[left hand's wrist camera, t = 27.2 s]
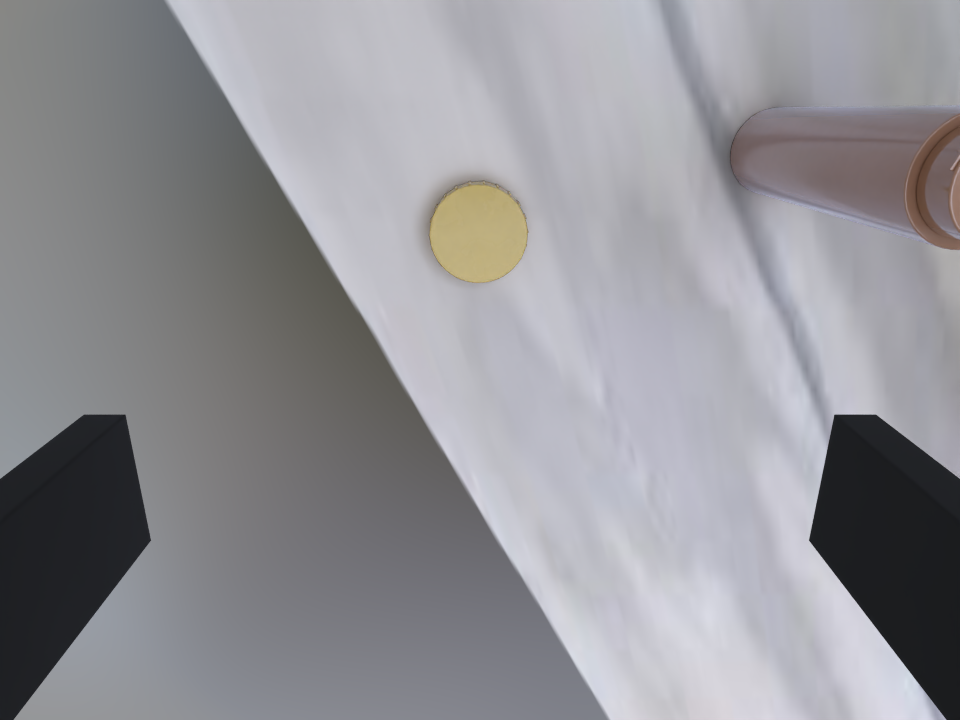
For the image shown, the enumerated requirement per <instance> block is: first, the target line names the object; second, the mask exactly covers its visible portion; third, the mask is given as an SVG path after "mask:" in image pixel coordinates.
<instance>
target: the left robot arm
mask: <svg viewBox="0 0 960 720" xmlns="http://www.w3.org/2000/svg"><path fill="white" fill-rule="evenodd" d="M150 541H151V539H150V534H149V529H148V524H147V519H146V514H145V509H144V504H143V499H142V494H141V489H140V484H139V479H138V475H137V469H136V465H135V460H134V455H133V450H132V445H131V440H130V435H129V430H128V425H127V420H126V415H83V416H82V417H80V418H79V419H78V420H76V421H75V422H74V423H73V424H71V425H70V426H69V427H67V428H66V429H65V430H64V431H62V432H61V433H60V434H58V435H57V436H56V437H54V438H53V439H52V440H50V441H49V442H48V443H46V444H45V445H44V446H43V447H41V448H40V449H39V450H37V451H36V452H35V453H33V454H32V455H31V456H30V457H28V458H27V459H26V460H24V461H23V462H22V463H20V464H19V465H18V466H17V467H15V468H14V469H13V470H11V471H10V472H9V473H7V474H6V475H5V476H3V477H2V478H1V479H0V720H14V718H15V717H16V716H17V714H18V713H19V712H20V710H21V709H22V708H23V706H24V705H25V704H26V703H27V701H28V700H29V699H30V697H31V696H32V695H33V694H34V692H35V691H36V690H37V688H38V687H39V686H40V684H41V683H42V682H43V680H44V679H45V678H46V677H47V675H48V674H49V673H50V671H51V670H52V669H53V667H54V666H55V665H56V663H57V662H58V661H59V660H60V658H61V657H62V656H63V654H64V653H65V652H66V650H67V649H68V648H69V647H70V645H71V644H72V643H73V641H74V640H75V639H76V637H77V636H78V635H79V634H80V632H81V631H82V630H83V628H84V627H85V626H86V624H87V623H88V622H89V620H90V619H91V618H92V617H93V615H94V614H95V613H96V611H97V610H98V609H99V607H100V606H101V605H102V603H103V602H104V601H105V600H106V598H107V597H108V596H109V594H110V593H111V592H112V590H113V589H114V588H115V587H116V585H117V584H118V583H119V581H120V580H121V579H122V577H123V576H124V575H125V573H126V572H127V571H128V570H129V568H130V567H131V566H132V564H133V563H134V562H135V560H136V559H137V558H138V557H139V555H140V554H141V553H142V551H143V550H144V549H145V547H146V546H147V545H148V543H149V542H150ZM809 541H810V542H811V544H812V545H813V546H814V547H815V549H816V550H817V551H818V553H819V554H820V555H821V557H822V558H823V559H824V560H825V562H826V563H827V564H828V566H829V567H830V568H831V570H832V571H833V572H834V574H835V575H836V576H837V577H838V579H839V580H840V581H841V583H842V584H843V585H844V587H845V588H846V589H847V590H848V592H849V593H850V594H851V596H852V597H853V598H854V600H855V601H856V602H857V604H858V605H859V606H860V607H861V609H862V610H863V611H864V613H865V614H866V615H867V617H868V618H869V619H870V620H871V622H872V623H873V624H874V626H875V627H876V628H877V630H878V631H879V632H880V634H881V635H882V636H883V637H884V639H885V640H886V641H887V643H888V644H889V645H890V647H891V648H892V649H893V650H894V652H895V653H896V654H897V656H898V657H899V658H900V660H901V661H902V662H903V664H904V665H905V666H906V667H907V669H908V670H909V671H910V673H911V674H912V675H913V677H914V678H915V679H916V680H917V682H918V683H919V684H920V686H921V687H922V688H923V690H924V691H925V692H926V694H927V695H928V696H929V697H930V699H931V700H932V701H933V703H934V704H935V705H936V707H937V708H938V709H939V710H940V712H941V713H942V714H943V716H944V717H945V718H946V720H960V479H959V478H958V477H957V476H955V475H954V474H953V473H951V472H950V471H949V470H947V469H946V468H945V467H943V466H942V465H941V464H940V463H938V462H937V461H936V460H934V459H933V458H932V457H930V456H929V455H928V454H927V453H925V452H924V451H923V450H921V449H920V448H919V447H917V446H916V445H915V444H914V443H912V442H911V441H910V440H908V439H907V438H906V437H904V436H903V435H902V434H900V433H899V432H898V431H897V430H895V429H894V428H893V427H891V426H890V425H889V424H887V423H886V422H885V421H884V420H882V419H881V418H880V417H878V416H877V415H834V420H833V425H832V430H831V435H830V440H829V445H828V450H827V455H826V460H825V465H824V469H823V474H822V479H821V484H820V489H819V494H818V499H817V504H816V509H815V514H814V519H813V524H812V529H811V534H810V539H809Z"/></svg>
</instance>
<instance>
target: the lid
mask: <svg viewBox="0 0 960 720" xmlns="http://www.w3.org/2000/svg"><path fill="white" fill-rule="evenodd" d="M435 209H436V210H435V213H434V215H433V217H432V218H431V220H430V223H431V225H430V233H429V237H430V243H431V247H432V250H433V252H434V255H435V257H436V259H437V260H438V262H439V263H440V264H441V266H442V267H443V268H444V269H445V270H446V271H447V272H449V273H450V274H451V275H453V276H455V277H457V278H459V279H461V280H464V281H467V282H473V283H484V282H490V281H493V280H496V279H499V278H501V277H503V276H504V275H506V274H507V273H509V272H510V271H511V270H512V269H513V268H514V267H515V266H516V265H517V264H518V262H519V261H520V259H521V257H522V255H523V253H524V250H525V248H526V246H527V244H526V243H527V233H528V229H527V225H526V220H525V219H526V216H525V214H523V212H522V210H521V208H520V203H519V201H516V200H515V198H514V197H513V196H512V195H511V193H510V191H508V192H507V191H506V190H505V189H503V188H502V187H500V186H498V184H496V185H495V184H492V183H488V182H485V180H483V182H478V181H477V182H471V181H469V183H465V184H462V185H460V186H456V187H455V188H454V189H453V190H451V191H450V192H449V193H447V194H446V193H445V195H444V197H443V199H442V200H441V201H440V203H439V205H438V204H437V205H436V207H435Z"/></svg>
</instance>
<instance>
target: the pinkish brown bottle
mask: <svg viewBox="0 0 960 720" xmlns="http://www.w3.org/2000/svg"><path fill="white" fill-rule="evenodd" d="M730 159H731V166H732V170H733V173H734V175H735V177H736V179H737V180H738V181H739V182H740V184H741V185H743V186H744V187H745V188H746V189H748V190H750V191H752V192H755V193H758V194H762V195H765V196H768V197H772V198H775V199H778V200H782V201H785V202H789V203H792V204H795V205H799V206H802V207H805V208H809V209H812V210H816V211H819V212H822V213H826V214H829V215H832V216H836V217H839V218H843V219H846V220H849V221H853V222H856V223H859V224H863V225H866V226H870V227H873V228H876V229H880V230H883V231H886V232H890V233H893V234H897V235H900V236H903V237H907V238H910V239H913V240H917V241H920V242H924V243H927V244H930V245H934V246H937V247H940V248H944V249H950V250H960V105H928V106H847V107H776V108H769V109H766V110H763V111H760V112H759V113H757V114H755V115H753V116H752V117H751V118H749V119H748V120H747V121H746V122H745V123H744V124H743V125H742V127H741V128H740V129H739V131H738V133H737V134H736V136H735V138H734V141H733V144H732V148H731V158H730Z"/></svg>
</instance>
